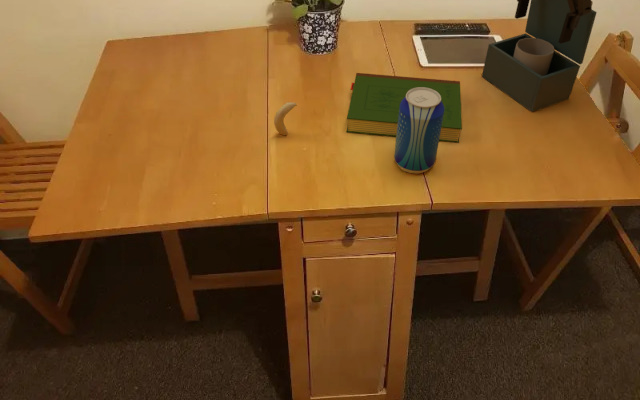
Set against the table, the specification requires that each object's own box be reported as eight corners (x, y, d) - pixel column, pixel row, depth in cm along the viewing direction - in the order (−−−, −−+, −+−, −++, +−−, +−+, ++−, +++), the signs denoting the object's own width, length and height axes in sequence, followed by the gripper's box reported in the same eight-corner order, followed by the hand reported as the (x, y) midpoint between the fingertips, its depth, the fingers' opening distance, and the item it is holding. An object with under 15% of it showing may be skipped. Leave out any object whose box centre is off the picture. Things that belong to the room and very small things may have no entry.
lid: (594, 13, 121) (614, 4, 123) (534, -18, 133) (553, -25, 134) (579, 64, 130) (598, 56, 132) (524, 31, 142) (543, 24, 143)
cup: (535, 97, 136) (547, 59, 129) (502, 87, 139) (511, 49, 132) (547, 81, 141) (559, 44, 134) (514, 71, 144) (524, 34, 137)
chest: (531, 112, 133) (541, 78, 127) (481, 76, 144) (488, 44, 138) (568, 99, 137) (580, 65, 131) (517, 65, 148) (525, 33, 142)
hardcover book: (457, 95, 138) (459, 81, 135) (458, 142, 124) (461, 128, 122) (352, 86, 141) (353, 72, 138) (343, 131, 127) (343, 117, 125)
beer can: (395, 147, 123) (403, 82, 112) (435, 152, 122) (447, 87, 111) (391, 173, 117) (398, 106, 106) (433, 178, 116) (445, 111, 105)
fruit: (269, 130, 126) (270, 135, 125) (278, 100, 120) (280, 106, 119) (286, 131, 127) (288, 137, 126) (296, 102, 121) (298, 107, 120)
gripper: (511, -86, 122) (491, 10, 136) (605, -48, 106) (571, 57, 120) (537, -91, 125) (515, 4, 139) (633, -55, 108) (597, 48, 123)
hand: (541, 29), depth 130 cm, fingers open, 13 cm apart
